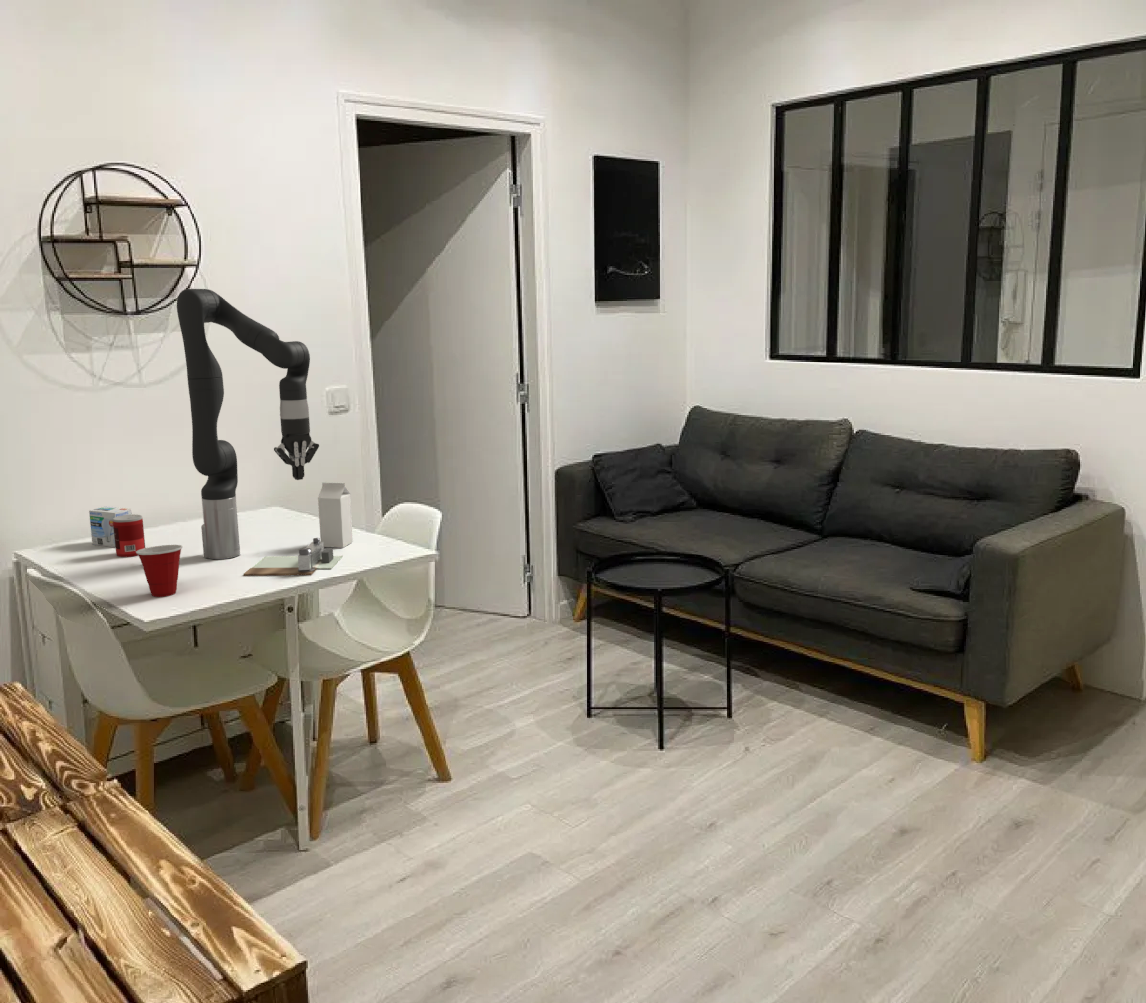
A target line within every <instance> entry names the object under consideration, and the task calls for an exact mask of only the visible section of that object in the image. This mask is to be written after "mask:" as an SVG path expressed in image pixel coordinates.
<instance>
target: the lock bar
mask: <svg viewBox="0 0 1146 1003" xmlns="http://www.w3.org/2000/svg"><path fill="white" fill-rule="evenodd" d="M324 549H325V547H324V545H323V541H321V539H320V537H314V538H312V542H310V543H309V544H308V545H306V547H303V548H299V549H298V555H297V556H298V565H299V570H311V569H312V567H313V566H314V565H315V564H316V563H317V562H318V561H319V560H320V559H321V558H322V555H321V552H322V551H323V550H324Z"/></svg>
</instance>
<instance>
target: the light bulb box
mask: <svg viewBox="0 0 1146 1003" xmlns="http://www.w3.org/2000/svg"><path fill="white" fill-rule="evenodd" d="M88 513H89V524H90V532H91V533H90V534H91V544H92V545H95V546H103V547H109V548H111V547H112V548H115V539H114V529H113V518H115V517H118V516H123V515H133V514H132V508H126V507H125V508H123V507H113V506H103V507H102V506H101V507H98V508H94V509H89V510H88Z"/></svg>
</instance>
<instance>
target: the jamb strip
mask: <svg viewBox="0 0 1146 1003" xmlns="http://www.w3.org/2000/svg"><path fill="white" fill-rule="evenodd" d="M317 570H318V569H317V567H312V569H311V570H299V567H295V568H252V567H250V568H249V569H247V570H245V572H244V573H243V577H258V576H259V577H266V576H267V577H269V576H271V577H272V576H273V577H274V576H277V577H278V576H283V577H284V576H285V577H286V576H288V577H289V576H291V575H294V576H313V574H314V573H315V572H316V571H317Z"/></svg>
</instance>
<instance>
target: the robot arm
mask: <svg viewBox="0 0 1146 1003" xmlns="http://www.w3.org/2000/svg"><path fill="white" fill-rule="evenodd" d="M226 300H227V299H225V298H224V297H222V296H221V295H219V294H218V293H217V292H216V291H213V290H212V289H208V288H207V289H206V288H186V289H183V290H181V291H180V293H179V294H178V295H177V299H176V312H177V318H178V323H179V327H180V332H181V336H182V342H183V348H184V349H183V350H184V356H185V357H184V358H185V362H186V363H185V364H186V376H187V378H186V379H187V387H188V395H189V401H190V413H191V414H190V415H191V416H190V417H191V427H192V431H191V432H192V437H191V438H192V444H191V445H192V447H191V448H192V449H191V451H192V452H191V453H192V454H191V455H192V462H193V466H194V467H195V469H196V471H197V472H198V473H199V474H200V475H201V476H205V477H207V480H206V482H205V484H204V485H203V486H202V488H201V491H200V495H201V496H200V497H201V504H202V505H201V506H202V507H201V508H202V516H203V523H202V525H201V539H202V549H203V559H211V560H224V559H225V560H227V559H231V558H234V557H239V556H240V555H241V546H240V545H241V544H240V534H239V522H238V506H237V494H236V491H237V487H238V481H239V480H238V478H239V477H238V459H237V458H238V457H237V452H236V449H235V448H234V446H233V445H232V444H231V443H230V442H229V441H226V440H224V439H219V438H218V421H219V416H220V413H221V408H222V405H223V402H224V395H225V388H224V378H223V371H222V368H221V365H220V363H219V362H218V360H217V358H216V357H215V355H214V353H213V351H212V350H211V348H210V346H209V344H208V341H207V338H206V337H207V336H206V332H205V330H206V329H205V324H207V323H211V324H212V323H213V324H216V325H220V326H222V327H224V328H226V329H228V330H229V331H230V332H232V334H233V335H234V336H235V337H236V338H237V340H239V341H240V342H241V343H242V344H243V345H245V346H246V347H248V348H250V349H252V350H254V351H255V352H257V353H260V354H261V355H262V356H263V357H264V358H265V359H266V360H267V361H268V362H269V363H270V364H272V365H273V366H276V367H277V368H280V369H285V370H286V369H287V370H286V375H285V376H284V377H283V378H281V379H280V381H279V384H278V387H279V388H278V389H279V416H280V417H279V418H280V430H281V440H280V444H279V445H278V446H275V447H274V448H273V452H275V454H276V455H277V456H278V457H279V458H280V460H282V461H283V462H284V464H285V465H289V466H291V470H292V471H291V472H292V478H293V479H294V480H296V481H300V480H303V479H304V478H305V465H306V464H309V463H311V461H312V459H313V458H314V456H315V454H316V452H317V451H318V450H319V447H320V444H319V443H317V442H314V441H313V440H312V437H311V435H310V434H311V427H310V411H309V408H310V407H309V404H308V396H307V394H308V392H307V391H308V390H307V381H308V375H309V371H310V363H311V362H310V361H311V357H310V356H311V355H310V351H309V349H308V347H307V345H306V344H305V343H304V342H302V341H298V340H294V341H293V340H292V341H283V340H281V339H280V336H279V334H278V333H277V332H276V331H274V330H273V329H271V328H269V327H267V326H266V325H264V324H262V323H260V322H258V321H257V320H254V319H253V318H251V317H249V316H247V315H246V314H244V313H243V312H241V311H240V310H239V309H237V308H236V307H235V306H234V305H232V304H231V303H230V302H228V301H226ZM286 451H287V453H286Z"/></svg>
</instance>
